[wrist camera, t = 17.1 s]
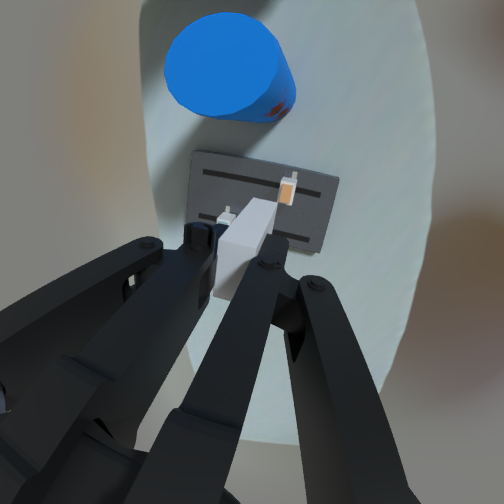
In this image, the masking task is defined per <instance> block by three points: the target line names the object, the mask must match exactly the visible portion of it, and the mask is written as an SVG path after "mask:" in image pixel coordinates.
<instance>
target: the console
mask: <svg viewBox="0 0 504 504" xmlns="http://www.w3.org/2000/svg"><path fill="white" fill-rule="evenodd" d="M283 177H288V178H292V179H297V184H296V189H295V194H294V199H293V203H292V205H287V204H283V203H278V202H277V199H278V193H279V188H280V183H281V180H282V178H283ZM339 180H340V179H339V177H335V176H331V175H327V174H323V173H319V172H315V171H311V170H306V169H302V168H298V167H293V166H288V165H284V164H279V163H274V162H269V161H264V160H258V159H253V158H247V157H241V156H235V155H229V154H223V153H216V152H209V151H202V150H194V151H192V158H191V168H190V179H189V190H188V202H187V216H186V223H191V222H204V223H208V224H211V225H215V224H217V218H218V217H219V216H220V215H221V214H222V213H223V212H226V213H231V214H236V218H237V217H238V215H239V214H240V213H241V212H242V211H243V209H244V208H245V207H246V206H247V205H248V203H249V202H250V201H251V200H252V199H253V197H254V198H258V199H263V200H268V201H272V202H277V203H278V205H277V210H276V215H275V220H274V225H273V230H272V235H277V236H281V237H285V238H287V240H288V241H289V246H291V247H295V248H299V249H304V250H308V251H312V252H316V253H320V251H321V248H322V244H323V241H324V237H325V234H326V230H327V226H328V223H329V219H330V215H331V212H332V208H333V204H334V200H335V196H336V192H337V188H338V184H339Z"/></svg>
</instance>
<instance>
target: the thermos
mask: <svg viewBox="0 0 504 504" xmlns="http://www.w3.org/2000/svg"><path fill="white" fill-rule="evenodd" d="M164 75H165V79H166V83H167V87H168V90H169V91H170V93H171V94H172V95H173V97H174V98H175V99H176V101H177V102H178V103H179V104H180V105H182V106H184V107H185V108H187V109H189V110H190V111H192V112H193V113H196V114H198V115H202V116H207V117H211V118H216V119H225V120H237V121H247V122H256V123H261V122H272V121H275V120H277V119H280V118H282V117H284V116H285V115H286V114H287V113H288V112H289V111H290V110H291V108H292V106H293V104H294V103H295V97H296V87H295V83H294V80H293V77H292V74H291V72H290V69H289V66H288V64H287V61H286V59H285V57H284V54H283V52H282V49H281V47H280V45H279V42H278V40H277V39H276V38H275V37H274V36H273V35H272V34H271V32H270V31H269V30H268V29H267V28H266V27H265V26H264V25H263V24H262V23H261V22H259V21H257V20H255V19H253V18H251V17H249V16H247V15H245V14H240V13H230V12H221V13H216V14H212V15H207V16H204V17H202V18H200V19H198V20H196V21H195V22H193V23H191V24H189V25H188V26H187V27H186V28H185V29H184V30H183V31H182V32H181V33H180V34H179V35H178V36H177V37H176V38H175V39H174V41H173V43H172V45H171V47H170V49H169V51H168V53H167V55H166V61H165V69H164Z"/></svg>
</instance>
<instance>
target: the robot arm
mask: <svg viewBox="0 0 504 504" xmlns="http://www.w3.org/2000/svg"><path fill="white" fill-rule="evenodd" d="M277 205H278V203H277V202H272V201H268V200H263V199H258V198H254V197H253V199H252V200H251V201H250V202H249V203H248V205H247V206H246V207H245V208H244V209H243V211H242V212H241V213H240V214H239V215H238V217H237V218H236V219H235V220H234V221H233V223H232V224H231V225H230V226H229V225H225V224H220V223H218V224H215V225H211V224H208V223H204V222H191V223H187V224H185V225H184V241H183V244H182V245H181V246H180V247H179V248H178V249H177V250H169V249H163V242H162V240H160V239H158V238H155V237H150V236H146V237H141V238H139V239H136V240H133V241H131V242H129V243H127V244H125V245H123V246H121V247H119V248H117V249H115V250H112V251H111V252H108V253H106V254H104V255H102V256H100V257H98V258H96V259H94V260H92V261H90V262H88V263H86V264H85V265H82V266H80V267H78V268H76V269H75V270H73V271H71V272H69V273H67V274H65V275H63V276H61V277H59V278H58V279H56V280H54V281H52V282H50V283H48V284H47V285H45V286H43V287H41V288H39V289H38V290H36V291H34V292H32V293H30V294H29V295H27V296H26V297H23V298H22V299H20V300H18V301H17V302H15V303H13V304H12V305H10V306H8V307H7V308H5V309H3V310H2V311H0V504H240V502H239V501H238V500H237V499H236V498H235V497H234V496H233V495H232V494H231V493H230V492H228V491H227V490H226V489H225V488H224V485H225V482H226V479H227V476H228V473H229V470H230V467H231V464H232V461H233V457H234V454H235V451H236V448H237V444H238V441H239V438H240V434H241V431H242V427H243V423H244V420H245V416H246V413H247V409H248V406H249V402H250V399H251V395H252V392H253V388H254V385H255V381H256V377H257V374H258V370H259V366H260V363H261V359H262V355H263V351H264V347H265V344H266V340H267V336H268V332H269V328H270V324H273V325H275V326H277V327H279V328H281V329H283V330H284V341H285V348H286V354H287V360H288V367H289V374H290V380H291V387H292V394H293V400H294V407H295V414H296V421H297V428H298V436H299V443H300V450H301V457H302V465H303V473H304V481H305V489H306V496H307V504H421V503H420V502H419V500H418V499H417V498H416V496H415V495H414V494H413V492H412V491H411V490H410V488H409V487H408V483H407V480H406V476H405V473H404V469H403V466H402V463H401V459H400V456H399V453H398V450H397V447H396V444H395V441H394V437H393V434H392V431H391V428H390V426H389V423H388V420H387V417H386V414H385V411H384V408H383V406H382V403H381V400H380V398H379V395H378V392H377V389H376V387H375V384H374V381H373V379H372V376H371V374H370V371H369V369H368V366H367V364H366V361H365V359H364V356H363V354H362V351H361V349H360V346H359V344H358V341H357V339H356V337H355V334H354V332H353V330H352V327H351V325H350V323H349V320H348V318H347V316H346V313H345V311H344V309H343V307H342V304H341V302H340V300H339V298H338V295H337V293H336V291H335V289H334V287H333V285H332V284H331V283H330V282H329V281H328V280H326V279H325V278H323V277H320V276H315V275H306V276H303V277H302V278H301V279H300V281H299V280H296V279H294V278H292V277H291V276H290V275H288V274H287V273H286V271H285V269H284V265H285V261H286V256H287V252H288V247H289V241H288V240H287V238H285V237H281V236H277V235H272V230H273V225H274V220H275V215H276V210H277ZM132 275H134V281H135V284H134V285H132V286H129V280H128V278H129V277H130V276H132ZM213 287H214V289H213V296H214V297H217V298H221V299H225V300H229V301H231V302H230V304H229V306H228V308H227V311H226V313H225V315H224V317H223V319H222V321H221V323H220V325H219V327H218V329H217V331H216V333H215V335H214V338H213V340H212V342H211V344H210V346H209V348H208V350H207V352H206V354H205V356H204V358H203V360H202V362H201V365H200V367H199V369H198V371H197V373H196V375H195V377H194V379H193V381H192V383H191V385H190V387H189V389H188V391H187V394H186V396H185V398H184V400H183V402H182V404H181V405H180V406H179V408H174V409H173V410H172V411H171V412H170V413H169V415H168V417H167V418H166V420H165V422H164V424H163V426H162V428H161V430H160V432H159V434H158V436H157V438H156V440H155V442H154V444H153V445H152V448H151V449H150V452H144V451H139V450H134V449H133V448H134V446H135V442H136V435H137V430H138V428H139V425H140V423H141V422H142V420H143V418H144V416H145V414H146V412H147V411H148V409H149V407H150V405H151V404H152V402H153V400H154V398H155V396H156V395H157V393H158V391H159V389H160V387H161V386H162V384H163V382H164V380H165V379H166V377H167V375H168V373H169V371H170V370H171V368H172V366H173V364H174V363H175V361H176V359H177V357H178V356H179V354H180V352H181V350H182V348H183V347H184V345H185V343H186V342H187V340H188V338H189V336H190V335H191V333H192V331H193V329H194V328H195V326H196V324H197V322H198V321H199V319H200V317H201V315H202V314H203V312H204V310H205V308H206V307H207V305H208V303H209V299H210V292H211V290H212V288H213ZM10 410H11V411H10ZM7 411H10V412H7Z"/></svg>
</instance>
